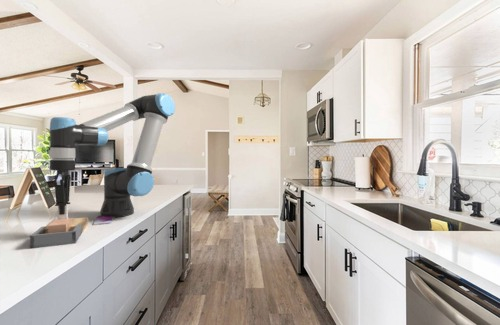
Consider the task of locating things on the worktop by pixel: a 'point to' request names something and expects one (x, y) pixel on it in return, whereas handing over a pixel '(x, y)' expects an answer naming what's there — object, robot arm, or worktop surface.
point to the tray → (54, 237)
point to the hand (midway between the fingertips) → (62, 222)
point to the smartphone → (102, 220)
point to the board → (74, 224)
